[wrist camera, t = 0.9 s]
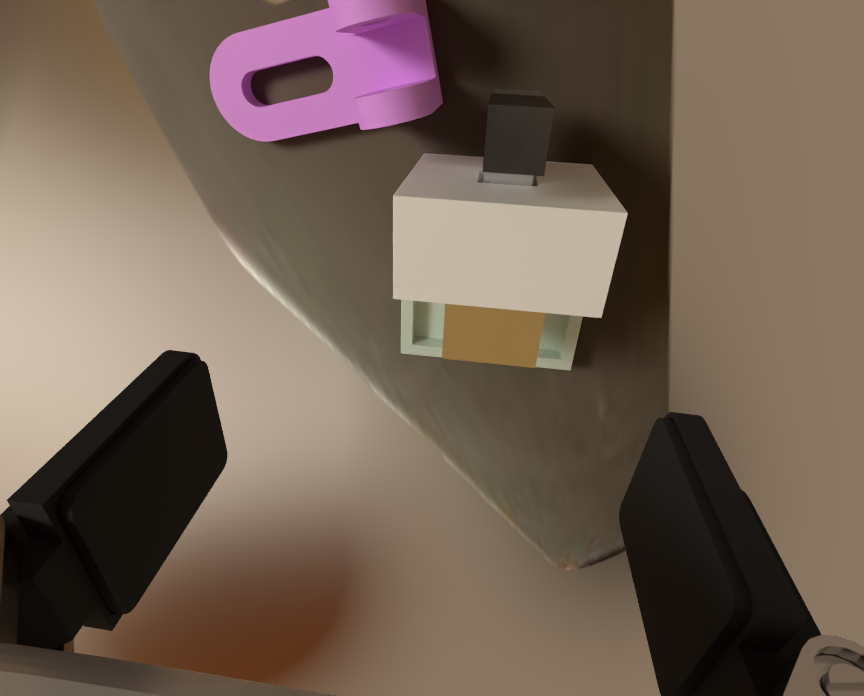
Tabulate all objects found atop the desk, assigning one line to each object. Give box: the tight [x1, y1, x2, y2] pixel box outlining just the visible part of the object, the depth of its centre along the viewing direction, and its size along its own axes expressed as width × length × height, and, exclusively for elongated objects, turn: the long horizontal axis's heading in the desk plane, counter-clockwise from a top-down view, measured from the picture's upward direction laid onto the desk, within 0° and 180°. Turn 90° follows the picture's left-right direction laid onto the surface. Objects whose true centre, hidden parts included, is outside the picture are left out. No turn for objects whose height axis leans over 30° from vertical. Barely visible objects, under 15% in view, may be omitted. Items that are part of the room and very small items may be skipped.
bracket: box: [210, 0, 443, 142], centre depth 26 cm, size 13×6×7 cm, turn 102°
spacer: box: [442, 304, 545, 368], centre depth 27 cm, size 3×5×4 cm
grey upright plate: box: [482, 89, 555, 186], centre depth 24 cm, size 13×2×7 cm, turn 178°
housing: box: [393, 153, 628, 318], centre depth 27 cm, size 5×10×10 cm, turn 88°
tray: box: [401, 300, 583, 370], centre depth 34 cm, size 8×12×2 cm, turn 88°
